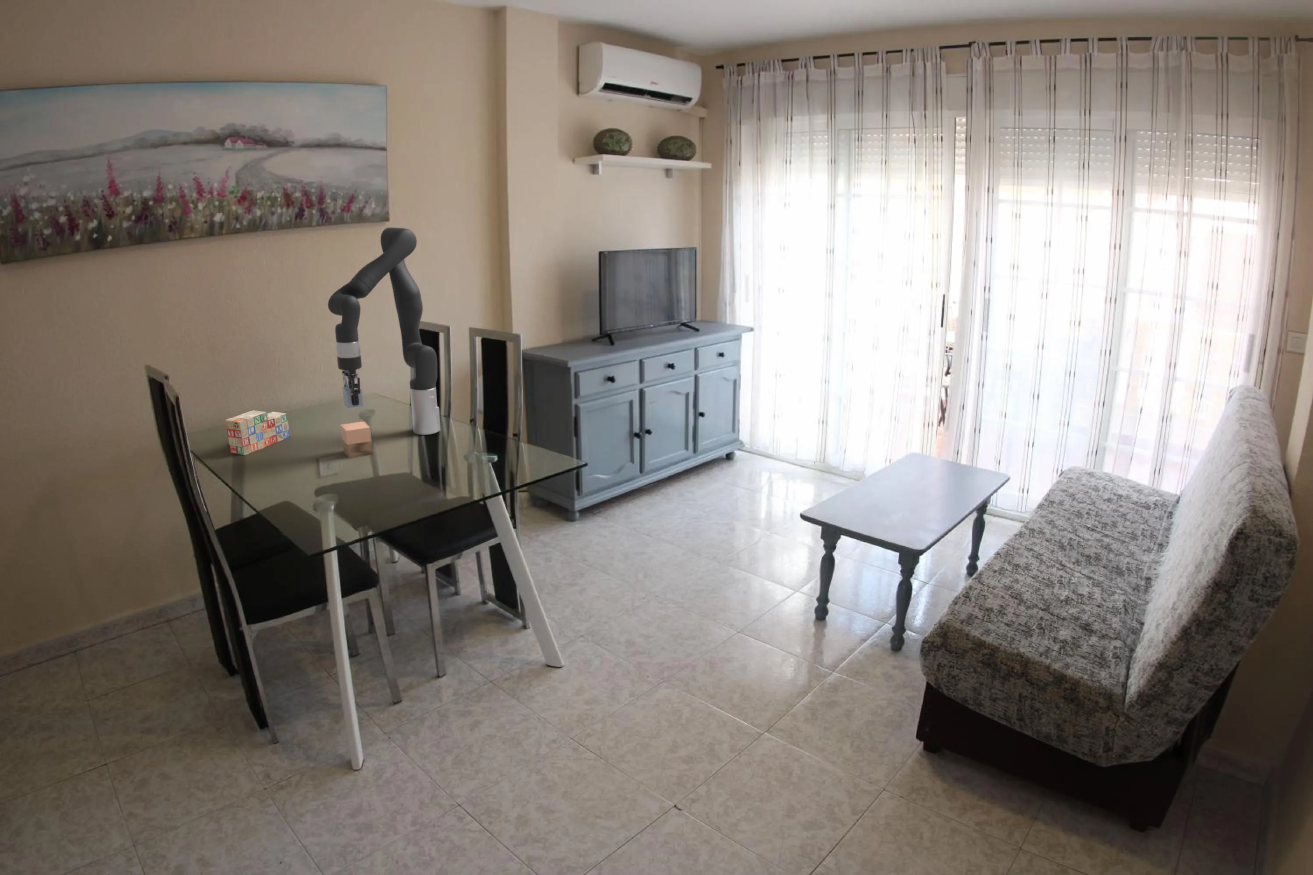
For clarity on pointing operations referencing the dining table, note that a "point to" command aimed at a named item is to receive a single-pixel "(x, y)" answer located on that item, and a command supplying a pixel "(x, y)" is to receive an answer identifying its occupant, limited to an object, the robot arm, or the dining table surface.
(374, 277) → the robot arm
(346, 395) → the slate block
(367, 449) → the tower base
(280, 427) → the stack of blocks
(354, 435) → the tower top
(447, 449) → the dining table surface
